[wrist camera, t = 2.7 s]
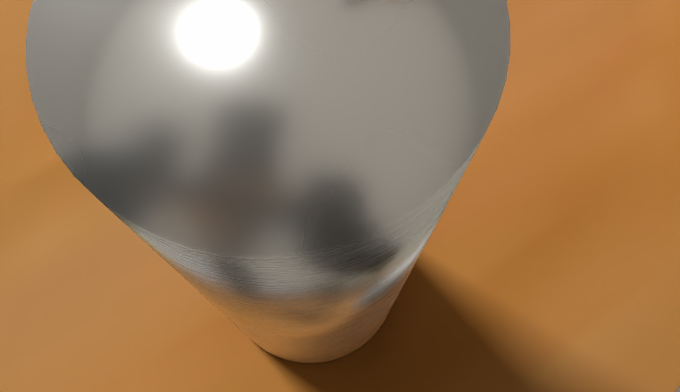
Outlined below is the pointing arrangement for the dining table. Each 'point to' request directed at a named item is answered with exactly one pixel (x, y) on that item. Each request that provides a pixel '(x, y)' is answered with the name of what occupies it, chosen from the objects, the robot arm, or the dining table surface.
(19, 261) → the dining table surface
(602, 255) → the dining table surface
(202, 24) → the shiny silver cylinder
